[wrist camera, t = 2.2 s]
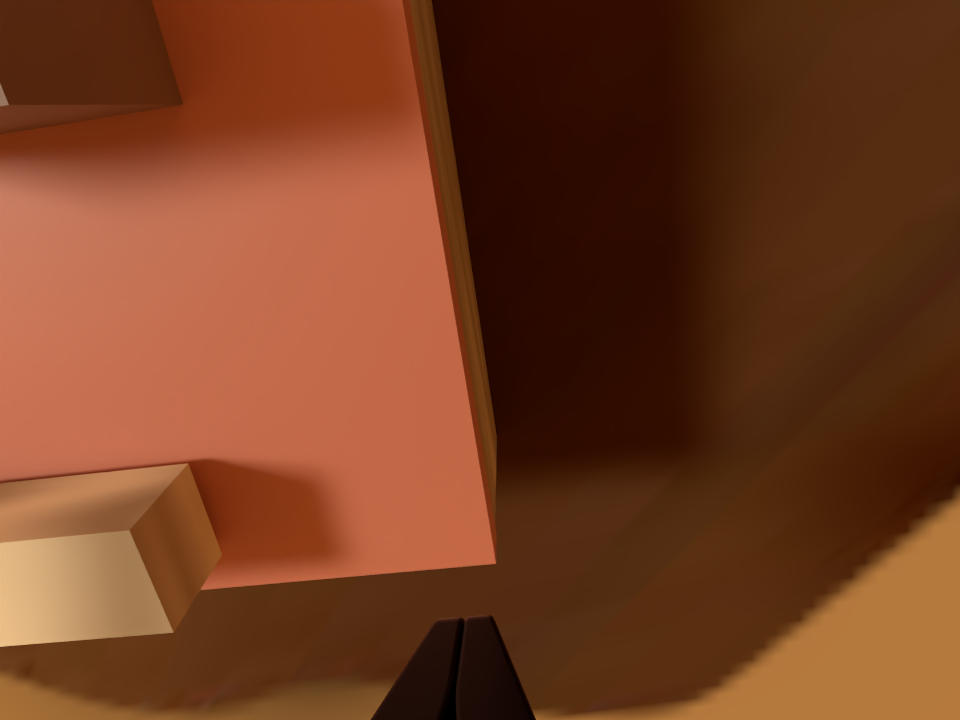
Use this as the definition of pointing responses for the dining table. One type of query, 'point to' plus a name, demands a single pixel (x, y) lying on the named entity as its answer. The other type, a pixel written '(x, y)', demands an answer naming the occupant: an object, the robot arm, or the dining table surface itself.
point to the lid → (238, 277)
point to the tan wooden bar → (101, 554)
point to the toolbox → (455, 227)
